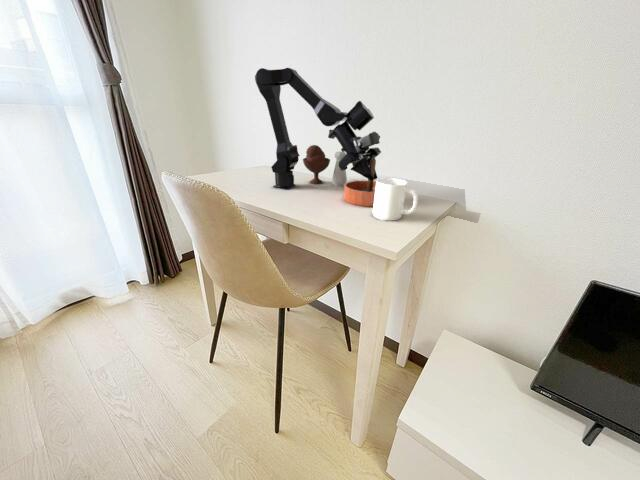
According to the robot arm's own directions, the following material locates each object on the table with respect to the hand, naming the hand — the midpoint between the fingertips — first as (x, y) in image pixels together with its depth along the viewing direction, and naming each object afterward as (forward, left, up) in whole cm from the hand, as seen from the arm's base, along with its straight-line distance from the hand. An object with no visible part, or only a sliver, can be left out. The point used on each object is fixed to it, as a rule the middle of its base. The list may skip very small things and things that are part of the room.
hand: (374, 179), depth 84 cm
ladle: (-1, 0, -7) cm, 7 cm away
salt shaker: (-18, +13, -8) cm, 23 cm away
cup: (+9, -12, -8) cm, 17 cm away
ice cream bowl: (-28, +12, -8) cm, 31 cm away
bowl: (-3, -1, -7) cm, 8 cm away
